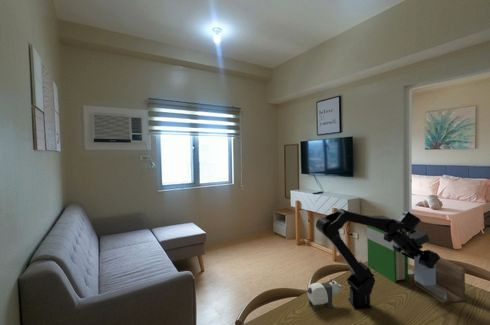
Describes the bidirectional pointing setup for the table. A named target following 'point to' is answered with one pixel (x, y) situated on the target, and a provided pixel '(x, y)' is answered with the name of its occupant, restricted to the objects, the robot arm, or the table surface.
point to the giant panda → (322, 293)
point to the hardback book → (385, 256)
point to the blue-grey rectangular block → (424, 273)
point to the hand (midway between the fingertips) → (427, 264)
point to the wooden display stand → (447, 282)
